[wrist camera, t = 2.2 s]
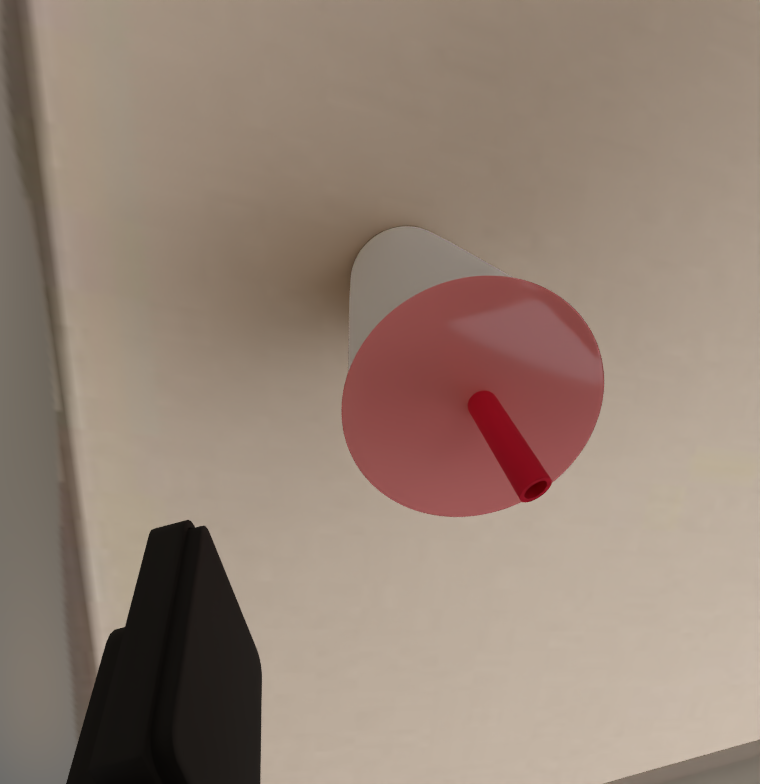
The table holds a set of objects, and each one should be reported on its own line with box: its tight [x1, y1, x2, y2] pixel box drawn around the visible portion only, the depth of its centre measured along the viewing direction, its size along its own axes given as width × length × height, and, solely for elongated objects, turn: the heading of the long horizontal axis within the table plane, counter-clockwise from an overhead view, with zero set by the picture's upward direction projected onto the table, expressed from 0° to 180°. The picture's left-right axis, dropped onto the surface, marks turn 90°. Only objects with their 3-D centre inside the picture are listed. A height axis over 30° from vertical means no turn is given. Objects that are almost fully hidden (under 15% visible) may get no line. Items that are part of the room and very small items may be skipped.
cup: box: [342, 226, 604, 517], centre depth 17 cm, size 5×5×12 cm
